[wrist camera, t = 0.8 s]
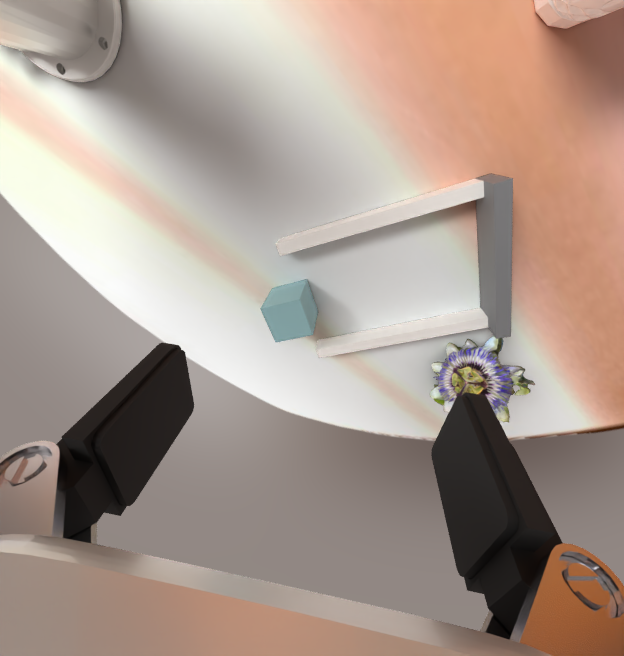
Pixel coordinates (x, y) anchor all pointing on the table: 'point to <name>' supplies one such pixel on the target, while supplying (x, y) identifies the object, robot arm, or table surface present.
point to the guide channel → (492, 259)
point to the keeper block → (290, 311)
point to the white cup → (574, 11)
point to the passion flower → (478, 376)
